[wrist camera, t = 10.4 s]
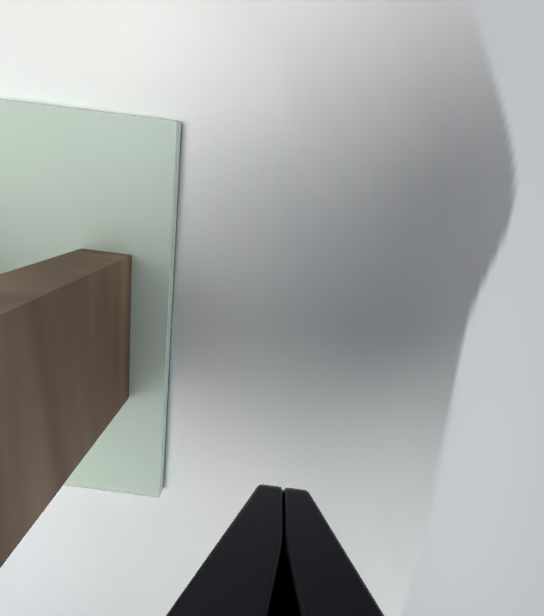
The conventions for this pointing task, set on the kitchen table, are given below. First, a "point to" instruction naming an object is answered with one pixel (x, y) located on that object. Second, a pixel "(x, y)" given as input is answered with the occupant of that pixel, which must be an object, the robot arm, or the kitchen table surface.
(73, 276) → the domino
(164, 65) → the kitchen table surface
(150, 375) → the sage board
